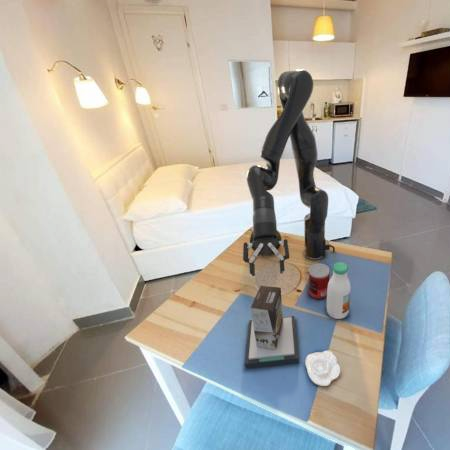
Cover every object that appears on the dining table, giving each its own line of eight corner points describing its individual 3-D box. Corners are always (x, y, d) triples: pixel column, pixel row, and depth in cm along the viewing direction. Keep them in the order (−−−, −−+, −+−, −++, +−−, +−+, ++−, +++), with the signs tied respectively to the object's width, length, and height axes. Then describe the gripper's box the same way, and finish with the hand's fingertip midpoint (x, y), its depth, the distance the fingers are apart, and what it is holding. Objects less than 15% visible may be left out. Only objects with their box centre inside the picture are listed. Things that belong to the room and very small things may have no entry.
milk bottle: (334, 323, 84) (337, 277, 74) (322, 307, 90) (323, 263, 80) (353, 314, 87) (358, 269, 77) (340, 299, 93) (343, 256, 83)
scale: (294, 320, 85) (294, 314, 84) (298, 363, 72) (298, 356, 70) (250, 325, 84) (249, 318, 82) (246, 368, 71) (244, 362, 69)
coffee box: (277, 350, 72) (273, 311, 64) (255, 347, 73) (249, 308, 65) (284, 324, 80) (281, 286, 72) (265, 322, 81) (260, 284, 73)
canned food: (330, 287, 99) (331, 265, 94) (326, 301, 92) (326, 278, 87) (312, 283, 101) (312, 261, 96) (306, 297, 95) (306, 274, 89)
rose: (344, 349, 71) (337, 383, 63) (343, 358, 73) (336, 392, 65) (310, 339, 74) (299, 370, 66) (310, 349, 76) (299, 380, 68)
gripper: (240, 222, 77) (242, 275, 72) (286, 219, 78) (290, 271, 73) (244, 228, 84) (246, 277, 80) (286, 225, 85) (290, 273, 81)
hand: (267, 274), depth 77 cm, fingers open, 8 cm apart
